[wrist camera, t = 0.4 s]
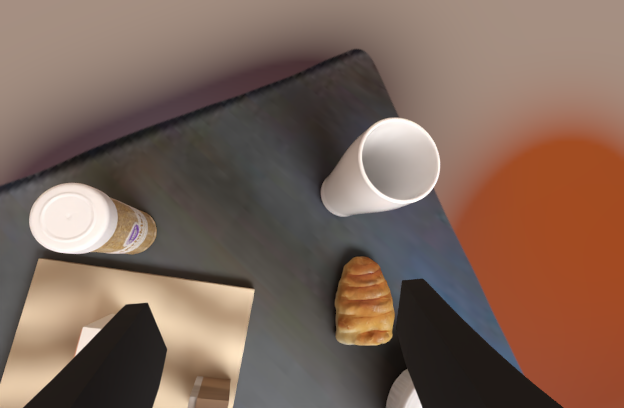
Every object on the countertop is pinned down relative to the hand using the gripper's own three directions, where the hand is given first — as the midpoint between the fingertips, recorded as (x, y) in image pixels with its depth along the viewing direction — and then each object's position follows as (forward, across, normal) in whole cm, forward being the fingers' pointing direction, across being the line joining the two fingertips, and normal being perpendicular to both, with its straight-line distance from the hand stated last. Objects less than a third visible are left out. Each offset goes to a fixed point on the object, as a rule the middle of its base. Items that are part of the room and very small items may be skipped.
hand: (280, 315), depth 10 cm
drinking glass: (+27, -6, +12) cm, 30 cm away
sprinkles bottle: (+22, +16, +11) cm, 30 cm away
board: (+15, +16, +21) cm, 30 cm away
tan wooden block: (+12, +9, +24) cm, 28 cm away
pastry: (+20, -7, +22) cm, 30 cm away
